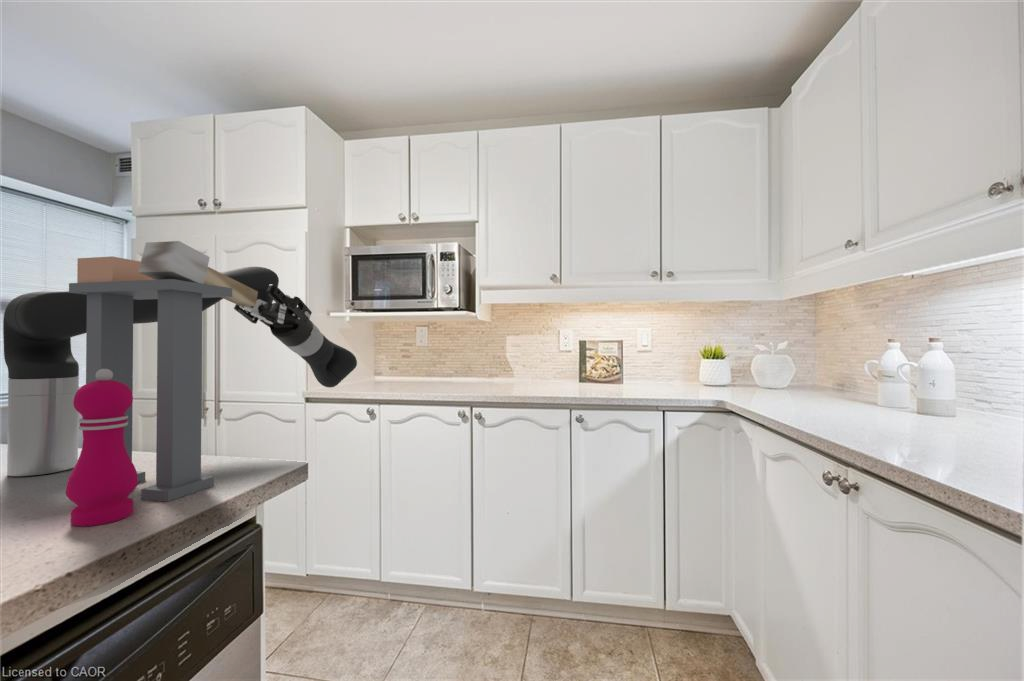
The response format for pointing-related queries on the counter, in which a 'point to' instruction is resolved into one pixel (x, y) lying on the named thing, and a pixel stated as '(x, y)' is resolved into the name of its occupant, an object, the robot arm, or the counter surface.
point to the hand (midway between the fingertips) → (250, 288)
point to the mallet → (190, 269)
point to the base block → (108, 270)
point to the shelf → (174, 369)
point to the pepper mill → (102, 454)
